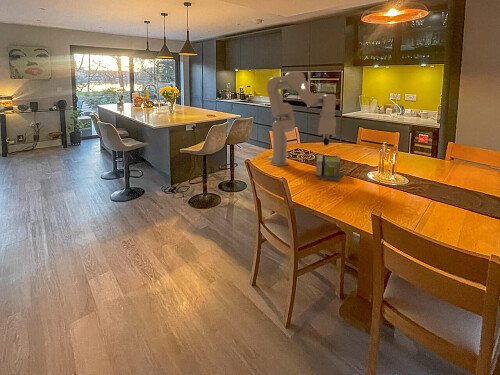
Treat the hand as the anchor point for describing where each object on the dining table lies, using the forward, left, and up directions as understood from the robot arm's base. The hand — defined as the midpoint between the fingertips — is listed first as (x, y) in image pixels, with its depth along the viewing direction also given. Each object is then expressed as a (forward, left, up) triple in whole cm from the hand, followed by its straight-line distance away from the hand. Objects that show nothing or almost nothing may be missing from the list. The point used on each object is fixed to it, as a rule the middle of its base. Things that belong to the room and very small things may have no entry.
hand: (326, 145), depth 214 cm
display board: (+5, 0, -20) cm, 20 cm away
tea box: (-6, +1, -14) cm, 15 cm away
